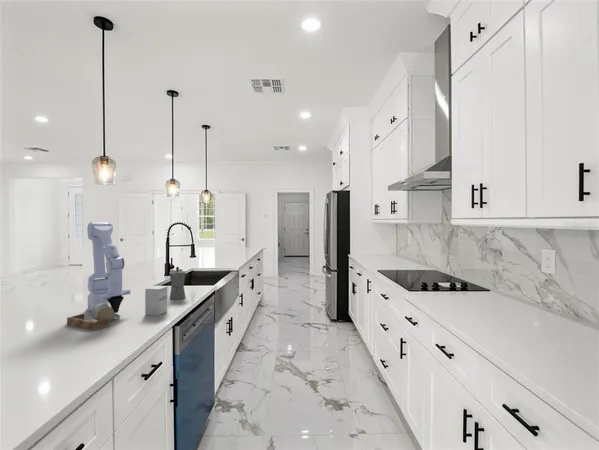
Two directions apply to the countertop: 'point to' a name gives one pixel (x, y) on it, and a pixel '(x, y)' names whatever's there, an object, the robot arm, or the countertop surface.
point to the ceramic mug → (103, 312)
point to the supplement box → (156, 300)
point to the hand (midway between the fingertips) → (115, 312)
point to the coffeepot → (177, 284)
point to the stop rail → (87, 322)
